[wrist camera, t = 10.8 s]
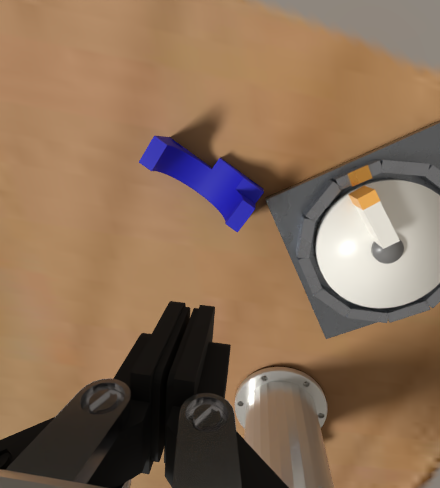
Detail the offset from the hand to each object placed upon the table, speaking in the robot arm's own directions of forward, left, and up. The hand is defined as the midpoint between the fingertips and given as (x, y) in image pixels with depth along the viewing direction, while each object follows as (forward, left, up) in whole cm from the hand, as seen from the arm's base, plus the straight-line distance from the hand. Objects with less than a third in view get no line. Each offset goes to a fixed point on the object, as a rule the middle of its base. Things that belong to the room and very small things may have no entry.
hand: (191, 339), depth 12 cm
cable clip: (+5, +1, -28) cm, 28 cm away
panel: (-10, -13, -27) cm, 32 cm away
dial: (-10, -13, -25) cm, 30 cm away
